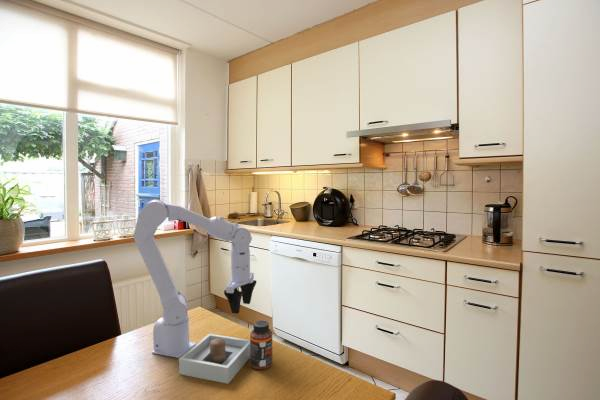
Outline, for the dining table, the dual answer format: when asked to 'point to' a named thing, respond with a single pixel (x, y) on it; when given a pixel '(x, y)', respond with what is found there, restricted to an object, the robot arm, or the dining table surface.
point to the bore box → (199, 366)
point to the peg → (217, 351)
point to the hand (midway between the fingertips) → (241, 308)
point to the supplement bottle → (261, 346)
